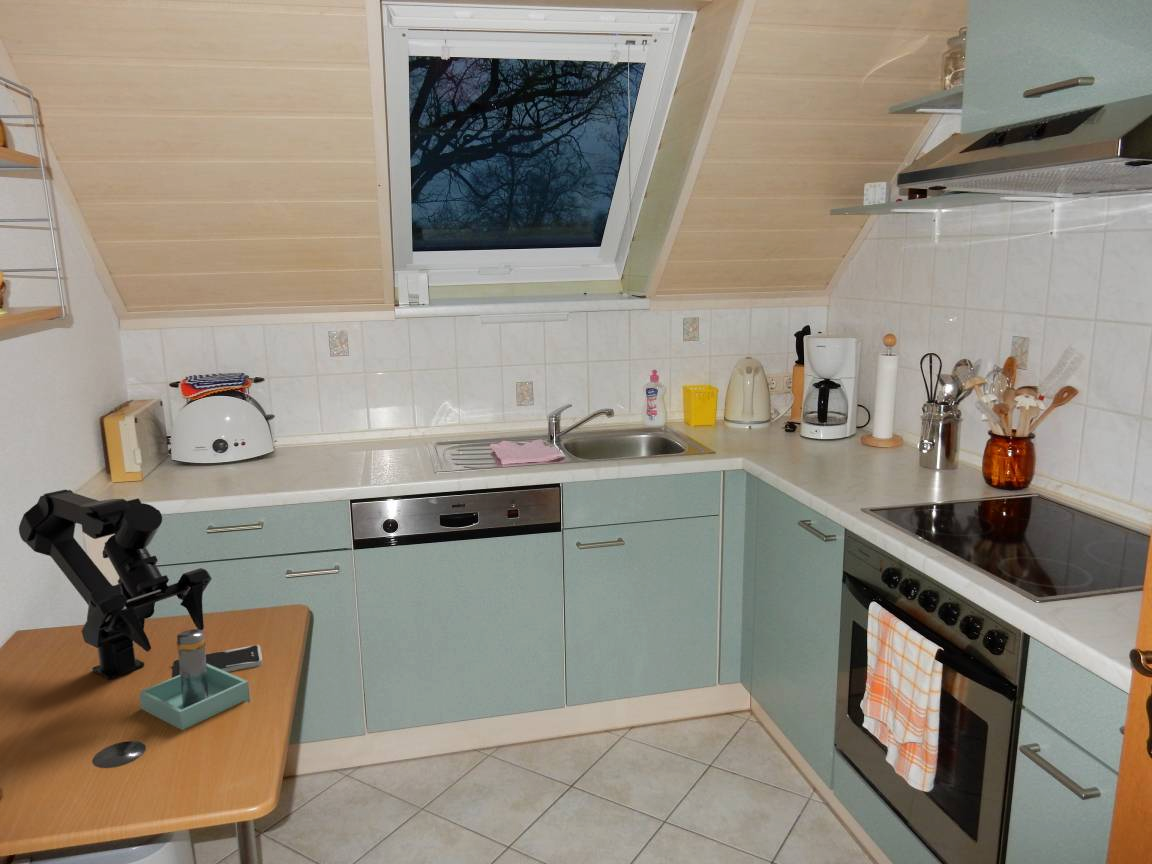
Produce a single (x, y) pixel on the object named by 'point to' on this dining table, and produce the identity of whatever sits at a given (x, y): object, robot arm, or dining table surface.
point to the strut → (192, 666)
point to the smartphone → (230, 659)
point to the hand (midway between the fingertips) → (176, 639)
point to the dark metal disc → (119, 754)
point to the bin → (222, 696)
